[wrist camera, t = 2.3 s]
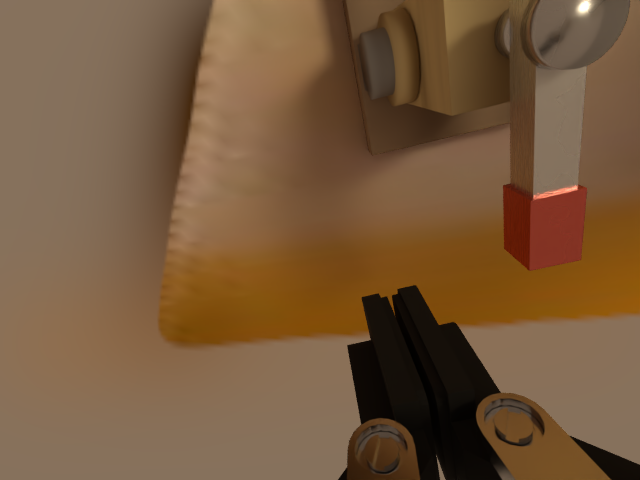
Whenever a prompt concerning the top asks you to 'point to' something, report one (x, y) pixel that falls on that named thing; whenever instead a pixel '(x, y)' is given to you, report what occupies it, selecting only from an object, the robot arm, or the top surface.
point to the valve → (427, 69)
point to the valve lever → (550, 120)
